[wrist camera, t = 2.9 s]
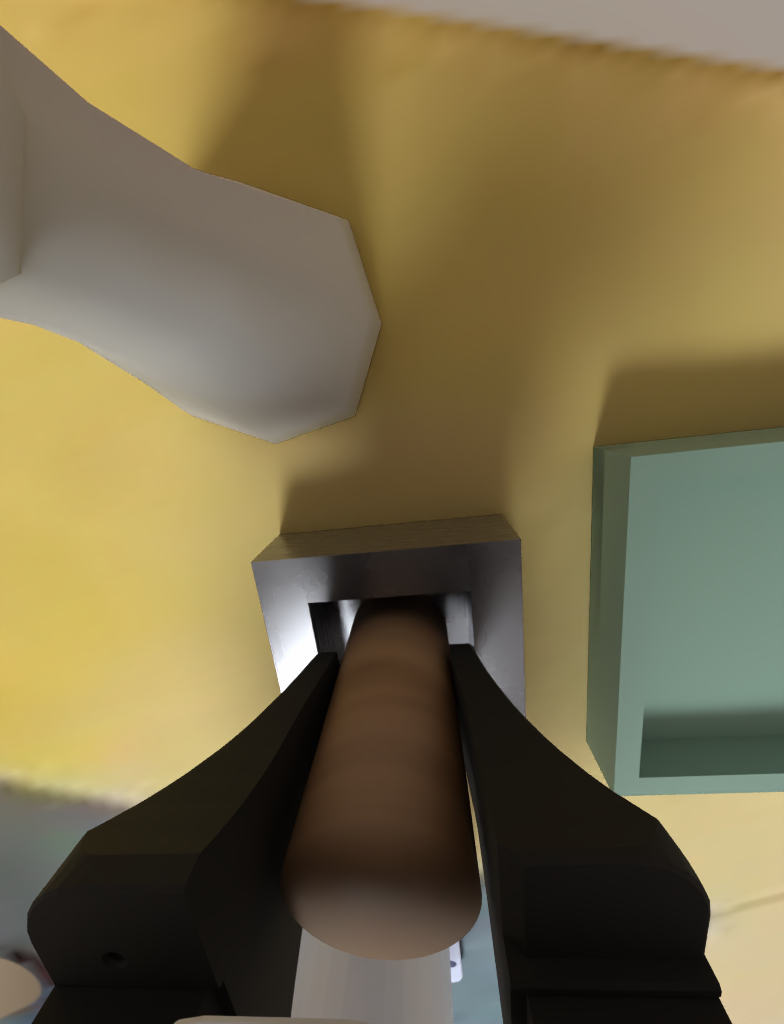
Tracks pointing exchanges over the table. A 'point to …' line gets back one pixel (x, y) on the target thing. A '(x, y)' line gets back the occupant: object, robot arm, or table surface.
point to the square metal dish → (397, 589)
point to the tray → (688, 614)
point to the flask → (176, 266)
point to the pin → (387, 797)
